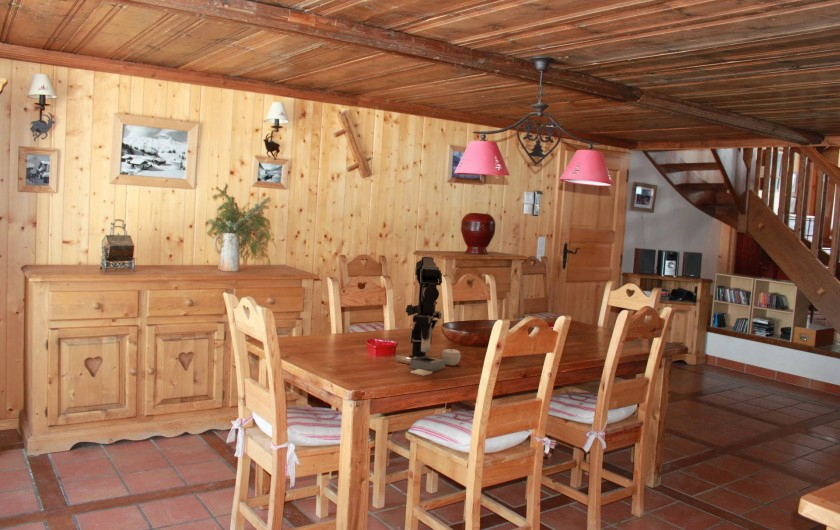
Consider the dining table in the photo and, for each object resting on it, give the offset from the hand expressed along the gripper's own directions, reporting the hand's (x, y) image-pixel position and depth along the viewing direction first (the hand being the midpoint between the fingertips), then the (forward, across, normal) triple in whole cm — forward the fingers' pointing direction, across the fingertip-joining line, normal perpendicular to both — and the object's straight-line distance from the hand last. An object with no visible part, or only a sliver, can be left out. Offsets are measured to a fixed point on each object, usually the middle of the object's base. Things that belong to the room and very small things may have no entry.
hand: (426, 338), depth 278 cm
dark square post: (+5, 0, 0) cm, 5 cm away
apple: (+13, -19, +6) cm, 23 cm away
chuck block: (+13, -8, -6) cm, 16 cm away
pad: (+13, +2, 0) cm, 13 cm away
